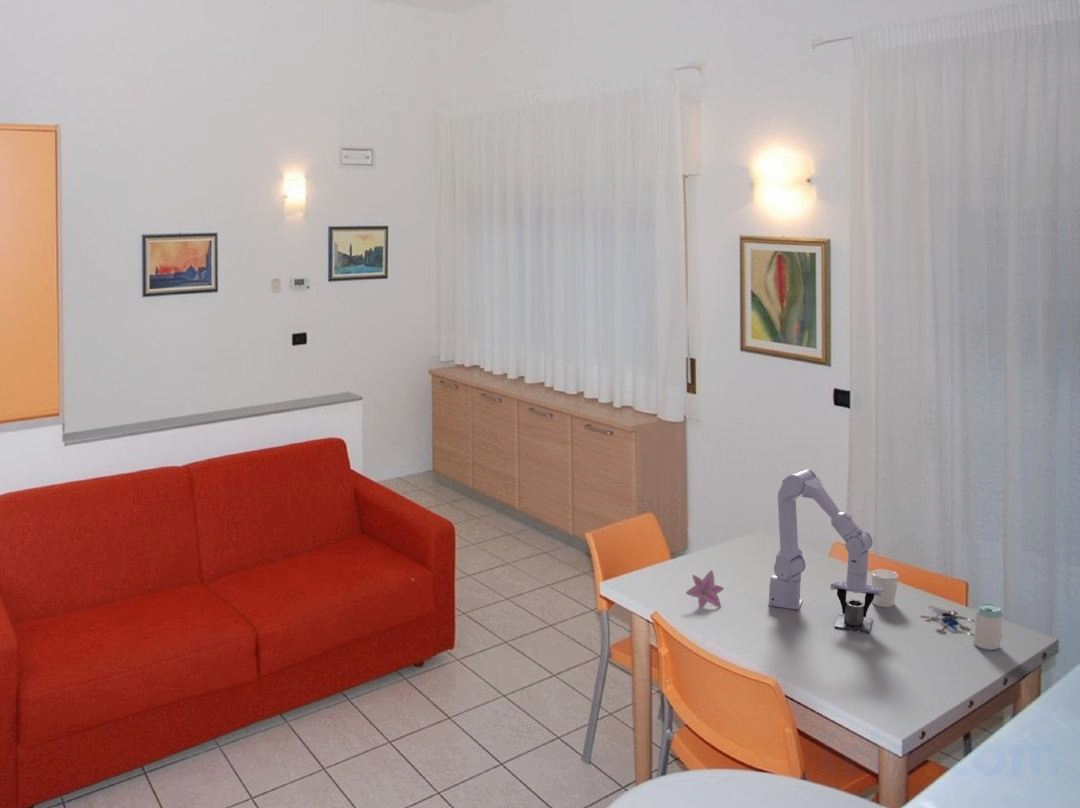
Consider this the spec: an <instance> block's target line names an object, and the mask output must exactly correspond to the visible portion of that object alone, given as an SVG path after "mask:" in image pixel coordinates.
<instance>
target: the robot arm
mask: <svg viewBox="0 0 1080 808" xmlns="http://www.w3.org/2000/svg"><path fill="white" fill-rule="evenodd" d="M821 481H822V480H821V479H820V478H819V477H818V476H817V475H816V473H815V472H814V471H813V470H811V469H806V468H805V469H802V470H801V471H798V472H795V473H793V474H789V475H788V476H786V477H785V478H783V480H782V484H781V485H780V488H779V490H778V492H777V507H778V527H779V544H780V545H779V547H780V549H779V551H778V552H777V554H776V556H775V563H774V566H773V572H774V574H771V577H770V581H769V593H768V604H767V605H768V606H771V607H776V608H777V607H778V608H784V609H791V610H797V611H799V610H800V608H801V606H802V603H803V599H802V598H801V597H800V596H801V583H802V581H801V579H802V573H803V572H804V571H805V569H806V560H805V558H804V557H803V551H802V550H801V548H800V547H799V540H798V539H799V537H798V523H797V522H798V521H797V520H798V516H797V501H796V500H797V499H798V498H799V497H800V496H801V497H802V498H805V499H806V498H807V499H812V500H814V501H815V502H816V503H817V504H818V506H819V507H820V508H821V509H822V510H823V511H824V512H825V513H826V514H827V515H828V517H829V518H830V519H831V522H830V524H831V526H832V527H833V528H834V529H835V531H836V532H837V534H838V535H839V536H840V537H841V538H842V540H843V541H844V543H845V544H844V546H845V549H846V551H847V554H848V555H847V558H848V559H847V569H846V570H847V571H846V581H832V580H831V582H830V590H833V591H834V590H837V591H836V595H837V598H838V599H839V602H840V605H841V609H842V610H841V611H842V614H845V604H846V600H847V593H848V592H852V593H855V594H858V593H859V594H864V595H865V596H864V603H865V607H864V614H863V617H865V618H867V612H868V609H869V607H870V605H871V604H872V601H873V599H874V595H877V596H880V597H881V591H882V588H877V587H873V586H872V585H869V584H867V581H868V580H867V578H868V567H869V566H868V565H869V550H870V549H871V548H872V546H873V539H872V536H871V535H870V533H868V532H867V531H864V530H862V528H860V527H859V526H858V525H857V524H856V522H854V520H853V516H852V515H851V514H848V513H847V512H845V511H841V510H840V509H839V508H838V506H837V504H835V502H834V500H833V499H832V498H831V497H830V495H829V494H828V492H827V491H826V489H825V488H824V487H823V484H822V482H821Z"/></svg>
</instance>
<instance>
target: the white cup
mask: <svg viewBox="0 0 1080 808" xmlns="http://www.w3.org/2000/svg"><path fill="white" fill-rule="evenodd" d="M898 579H899V574H898V573H897V572H896V571H893V570H891V569H882V568H881V569H879V568H878V569H874V570H872V572H871V586H873V587H877V588H882V591H881V597H880V596H877V595H874V599H873V601H872V602H871V604H873V605H874V604H875V605H874V606H877V607H880V606H881V607H880V608H892V607H893V606H894V605H895V601H896V599H895V598H896V594H897V587H898Z"/></svg>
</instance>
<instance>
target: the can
mask: <svg viewBox="0 0 1080 808" xmlns="http://www.w3.org/2000/svg"><path fill="white" fill-rule="evenodd" d="M978 606H979V607H978V608H977V609H976V610H975V622H974V629H973V630H974V631H973V641H972V642H973V644H974V645H975V646H976V647H977V646H978V647H977V648H979V649H981V650H985V651H995V650H998V649H999V648H1000V647H1001V641H1002V640H1001V639H1002V638H1001V637H1002V629H1003V628H1002V627H1003V619H1004V614H1003V612H1002V608H1001V607H999V605H997V604H992V603H981V604H980V605H978ZM994 649H995V650H994Z"/></svg>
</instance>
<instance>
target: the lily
mask: <svg viewBox="0 0 1080 808" xmlns="http://www.w3.org/2000/svg"><path fill="white" fill-rule="evenodd" d="M692 579H693V580H692V581H693V583H694V586H692V587H691V588H689V589H688V590H687V591H686V592H685V594H686V595H687V596H691V597H693V598H694V597H695V598H697V599H698V606H699V607H698V608H699V609H700V610H702V609H703V608H704V607H705V606H706V604H707V603H709V604H711V605H713V606H715V607H717V608H719V609H720V608H722V604H721V600H720V598H719V596H718V594H719V593H721V592H722V591H723V590H724V589H725V588H724V587H722V586H720V585H718V584H717V585H716V584H715V574H714V571H713V570H709V571H708V573H706V575H705V576H704V577H703V579H702V578H701V577H699V576H697V575H695V574H692Z"/></svg>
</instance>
